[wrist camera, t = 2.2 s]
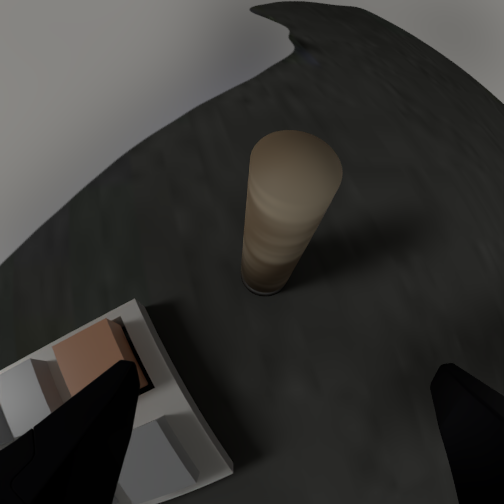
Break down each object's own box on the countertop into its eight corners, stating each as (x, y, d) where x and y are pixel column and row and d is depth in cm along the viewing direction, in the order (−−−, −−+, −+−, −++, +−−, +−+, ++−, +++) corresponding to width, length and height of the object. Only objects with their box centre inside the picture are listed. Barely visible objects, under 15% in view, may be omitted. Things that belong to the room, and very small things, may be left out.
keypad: (233, 462, 18) (233, 484, 14) (33, 522, 13) (6, 537, 9) (144, 306, 22) (124, 290, 17) (-28, 396, 17) (-60, 394, 12)
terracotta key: (148, 384, 18) (137, 385, 15) (96, 408, 17) (78, 412, 14) (120, 325, 19) (105, 318, 17) (70, 350, 18) (51, 346, 16)
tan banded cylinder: (296, 281, 23) (360, 182, 11) (256, 304, 22) (283, 219, 10) (272, 243, 24) (307, 120, 12) (232, 264, 23) (232, 147, 11)
